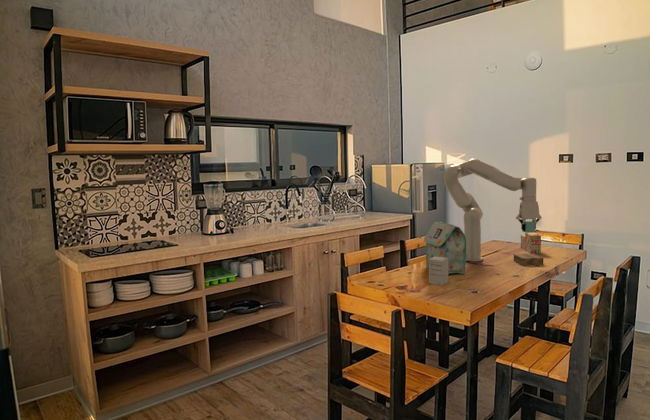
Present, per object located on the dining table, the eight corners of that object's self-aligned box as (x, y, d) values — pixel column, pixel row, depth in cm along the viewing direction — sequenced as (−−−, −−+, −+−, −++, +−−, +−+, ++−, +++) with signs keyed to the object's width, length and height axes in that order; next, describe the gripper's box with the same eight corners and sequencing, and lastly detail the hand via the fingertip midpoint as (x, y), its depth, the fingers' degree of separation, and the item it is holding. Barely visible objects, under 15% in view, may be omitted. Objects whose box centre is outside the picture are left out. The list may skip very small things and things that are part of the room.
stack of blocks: (520, 248, 313) (520, 230, 312) (530, 248, 312) (530, 230, 311) (530, 254, 292) (530, 235, 291) (540, 254, 291) (541, 235, 290)
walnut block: (522, 265, 261) (522, 258, 261) (513, 261, 273) (513, 254, 273) (543, 264, 261) (543, 257, 261) (533, 260, 273) (533, 253, 273)
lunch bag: (422, 267, 263) (421, 221, 261) (447, 265, 267) (447, 219, 265) (441, 276, 241) (441, 226, 239) (469, 274, 245) (469, 224, 243)
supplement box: (435, 280, 234) (435, 256, 232) (448, 282, 229) (448, 257, 228) (428, 283, 228) (428, 258, 227) (442, 285, 223) (442, 260, 222)
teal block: (526, 232, 263) (526, 222, 262) (522, 231, 268) (522, 221, 267) (534, 232, 263) (534, 222, 262) (530, 231, 268) (531, 221, 267)
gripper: (516, 200, 260) (516, 231, 262) (546, 199, 260) (546, 231, 262) (511, 199, 267) (511, 230, 269) (540, 198, 267) (540, 229, 269)
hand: (528, 230), depth 265 cm, fingers closed on teal block, 5 cm apart
